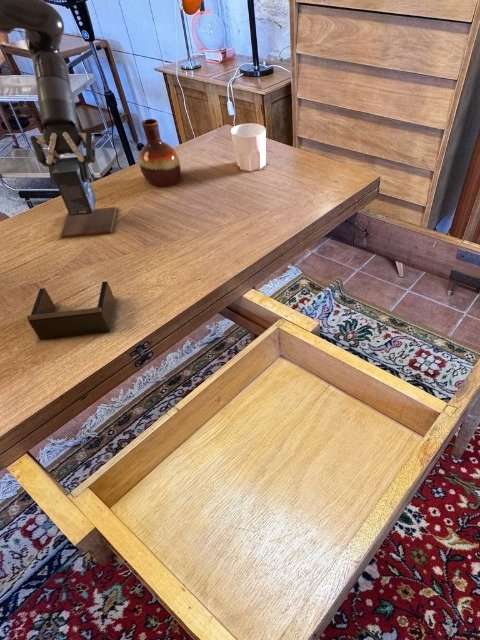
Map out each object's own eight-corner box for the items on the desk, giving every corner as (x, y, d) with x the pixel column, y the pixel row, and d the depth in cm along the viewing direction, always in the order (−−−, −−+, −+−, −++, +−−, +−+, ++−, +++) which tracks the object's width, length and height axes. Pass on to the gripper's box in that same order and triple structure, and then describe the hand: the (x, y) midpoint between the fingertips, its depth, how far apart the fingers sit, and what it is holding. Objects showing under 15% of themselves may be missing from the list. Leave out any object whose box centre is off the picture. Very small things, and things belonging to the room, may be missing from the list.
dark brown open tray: (40, 341, 86) (26, 318, 81) (51, 308, 92) (37, 285, 87) (110, 333, 87) (99, 309, 82) (115, 300, 93) (105, 277, 89)
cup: (229, 170, 132) (224, 134, 124) (244, 157, 138) (240, 121, 130) (259, 175, 129) (256, 139, 122) (273, 162, 135) (271, 126, 127)
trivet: (62, 239, 109) (60, 235, 108) (70, 215, 116) (68, 211, 116) (112, 234, 110) (110, 230, 109) (116, 210, 118) (115, 207, 117)
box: (93, 214, 108) (76, 170, 100) (70, 217, 107) (50, 172, 99) (97, 199, 113) (80, 155, 105) (74, 201, 112) (55, 157, 104)
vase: (148, 173, 131) (132, 114, 119) (185, 172, 132) (173, 113, 120) (141, 190, 124) (123, 130, 112) (180, 189, 125) (167, 129, 113)
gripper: (95, 112, 106) (107, 185, 108) (33, 117, 105) (46, 191, 106) (83, 94, 98) (96, 173, 100) (16, 99, 97) (31, 178, 99)
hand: (70, 181), depth 103 cm, fingers closed on box, 5 cm apart
